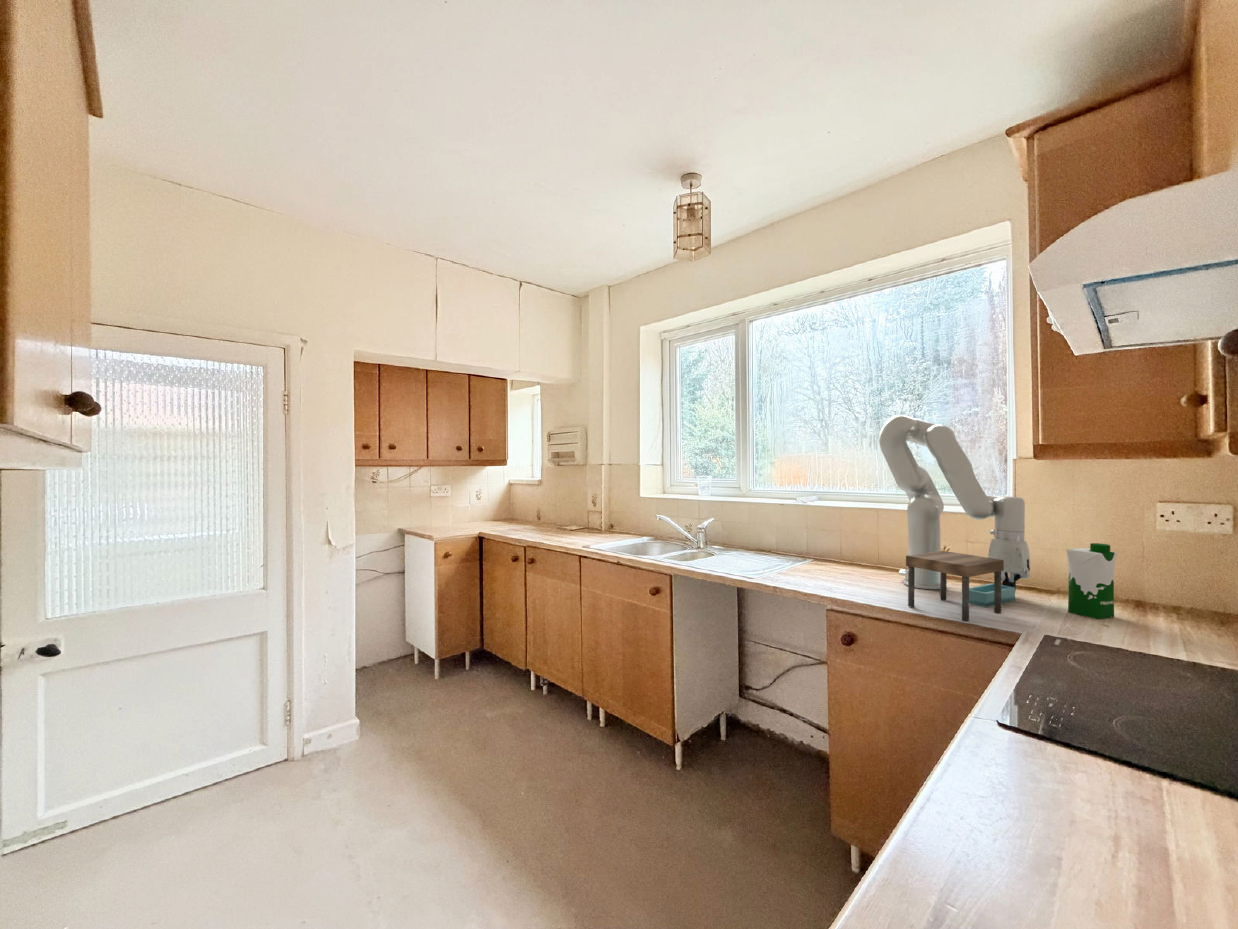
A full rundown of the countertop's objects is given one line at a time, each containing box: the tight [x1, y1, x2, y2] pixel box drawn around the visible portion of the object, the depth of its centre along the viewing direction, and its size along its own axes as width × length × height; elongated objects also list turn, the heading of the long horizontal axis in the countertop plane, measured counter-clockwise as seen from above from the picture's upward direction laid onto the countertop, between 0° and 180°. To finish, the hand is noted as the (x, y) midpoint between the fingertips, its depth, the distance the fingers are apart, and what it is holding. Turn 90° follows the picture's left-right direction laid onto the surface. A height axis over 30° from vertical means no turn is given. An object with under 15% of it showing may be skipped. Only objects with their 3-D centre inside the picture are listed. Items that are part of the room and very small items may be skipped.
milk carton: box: [1066, 542, 1118, 620], centre depth 142 cm, size 9×9×20 cm
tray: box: [969, 582, 1016, 608], centre depth 156 cm, size 6×16×4 cm, turn 118°
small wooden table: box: [905, 550, 1004, 623], centre depth 147 cm, size 17×18×15 cm
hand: (1008, 593), depth 161 cm, fingers closed
